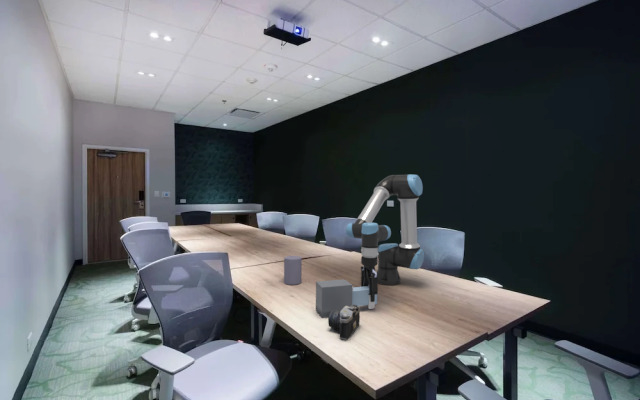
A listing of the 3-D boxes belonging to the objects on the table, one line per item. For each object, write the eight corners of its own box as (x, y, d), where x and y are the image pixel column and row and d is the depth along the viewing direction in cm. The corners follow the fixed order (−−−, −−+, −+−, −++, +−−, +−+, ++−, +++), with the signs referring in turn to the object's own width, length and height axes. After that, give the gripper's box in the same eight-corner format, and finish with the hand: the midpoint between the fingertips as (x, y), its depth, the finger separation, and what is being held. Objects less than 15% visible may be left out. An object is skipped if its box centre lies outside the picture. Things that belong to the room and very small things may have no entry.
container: (304, 283, 179) (304, 258, 179) (289, 286, 173) (289, 260, 173) (295, 279, 187) (296, 255, 187) (280, 281, 182) (281, 257, 181)
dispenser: (345, 307, 142) (345, 279, 142) (353, 314, 134) (353, 284, 134) (315, 310, 138) (316, 281, 138) (321, 318, 129) (322, 287, 129)
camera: (338, 320, 128) (338, 296, 128) (362, 325, 123) (362, 300, 123) (322, 336, 114) (323, 309, 113) (348, 342, 109) (349, 314, 109)
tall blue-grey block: (372, 300, 144) (372, 285, 144) (377, 304, 140) (377, 288, 139) (336, 304, 139) (336, 288, 139) (340, 308, 134) (340, 292, 134)
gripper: (354, 252, 148) (353, 300, 149) (371, 260, 131) (370, 314, 131) (368, 252, 150) (367, 298, 151) (386, 259, 133) (385, 312, 133)
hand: (368, 305), depth 141 cm, fingers closed on tall blue-grey block, 5 cm apart
